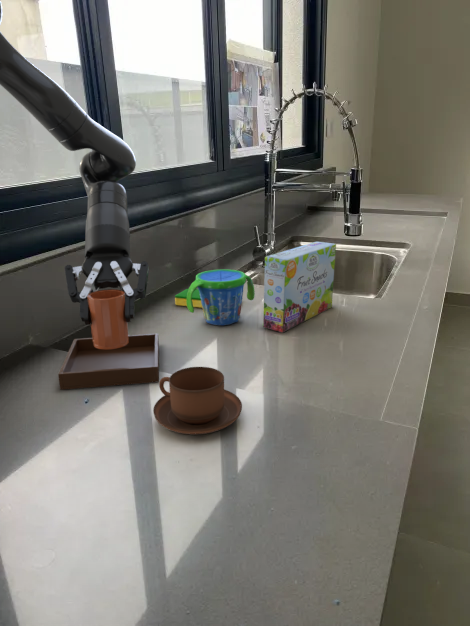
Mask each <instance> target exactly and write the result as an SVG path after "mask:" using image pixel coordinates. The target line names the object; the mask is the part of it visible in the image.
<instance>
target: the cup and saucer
mask: <svg viewBox="0 0 470 626" xmlns="http://www.w3.org/2000/svg"><path fill="white" fill-rule="evenodd" d="M166 382H168V386H169V391H167V390H166V389H165V387H164V386H165V385H164V384H165V383H166ZM158 386H159V387H158V388H159V390H160V392H161V393H162V395H163V396H161V397H160V398H159V399H158V400H157V401H156V402H155V403H154V406H153V410H152V411H153V416H154V419H155V420H156V421H157V423H158V424H159V425H160V426H162V427H164V429H167V430H169V431H170V432H174V433H178V434H183V435H206V434H211V433H215V432H219V431H220V430H223V429H225V428H227V427H229V426H230V425H232V424H233V423H234V422H236V420H237V419H238V418H239V417H240V416H241V413H242V409H243V402H242V401H241V399H240V397H239V396H237V395H236V393H233V392H232V391H229V390H228V389H225V375H224V373H222V371H220V370H219V369H217V368H214V367H209V366H190V367H185V368H181V369H179V370H176V371H175V372H173V373H172V374H171V375H170V376H163V377H162V378H161V379H159V382H158Z"/></svg>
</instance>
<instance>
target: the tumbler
mask: <svg viewBox="0 0 470 626" xmlns="http://www.w3.org/2000/svg"><path fill="white" fill-rule="evenodd" d="M87 298H88V306H89V314H90V328H91V338H92V339H93V345H94V347H96V348H98V349H104V350H109V349H117V348H120V347H123V346H125V345H127V344H128V343H129V335H130V334H129V322H126V319H125V292H124V291H122V290H121V289H116V288H110V289H109V288H108V289H98V291H95V292H92V293H90V294H88V296H87Z"/></svg>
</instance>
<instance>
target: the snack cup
mask: <svg viewBox="0 0 470 626" xmlns="http://www.w3.org/2000/svg"><path fill="white" fill-rule="evenodd" d="M245 285H246V286H247V291H246V298H247V300H249V301H253V300H254V299H255V296H256V295H255V292H256V291H255V286H254V282H253V279H252V278H251V277H250V276H249V275H248V274H246V273H245V272H243V271H241V270H238V269H237V270H236V269H227V268H225V269H222V268H220V269H211V270H205V271H202V272H199V273H197V274H196V275H195V280H193V282H192V283H191V284H190V286H189V287H188V288H189V290H188V293H187V301H186V302H187V306H186V307H187V310H188V311H189V312H190V313H192V314H193V313H195V307H193V302H192V294H193V292H194V291H195V289H199V292H200V298H201V303H202V308H201V309H202V312H203V318H204V320H205V321H206V323H207V324H210V325H214V326H228V325H229V326H230V325H233V324H235V323H238V322H239V320H240V318H241V314H242V313H241V312H242V304H243V296H244V286H245Z"/></svg>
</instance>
